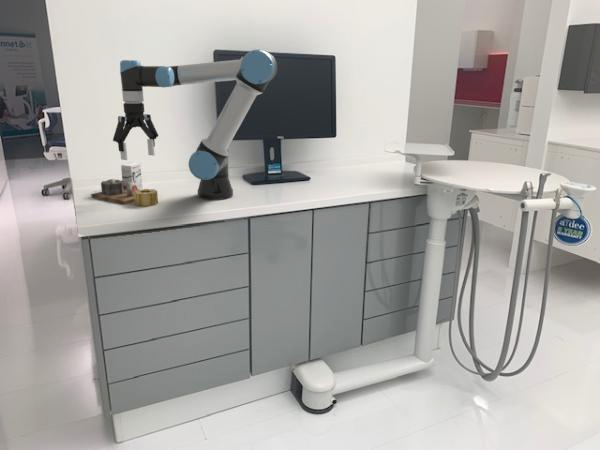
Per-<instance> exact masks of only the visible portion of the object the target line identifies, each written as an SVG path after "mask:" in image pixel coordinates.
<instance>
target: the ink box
mask: <svg viewBox="0 0 600 450" xmlns="http://www.w3.org/2000/svg"><path fill="white" fill-rule="evenodd" d="M120 166H121V167H120V169H121V178H122V179H121V181H124V189H126V182H132V190H133V191H136V190H142V189H143V182H142V181H143V178H142V177H143V176H142V165H141V162H140V163H139V162H134V161H133V162H127V163H124V164H121V165H120Z"/></svg>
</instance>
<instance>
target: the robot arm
mask: <svg viewBox="0 0 600 450" xmlns="http://www.w3.org/2000/svg"><path fill="white" fill-rule="evenodd" d="M277 71H278V63H277V60H276V58H275V56H274V55H272V54H271V53H269V52H267V51H265V50H264V49H253V50H250V51H249V52H247V53H246V54H245V55H243V56H241V58H240V59H233V60H222V61H213V62H200V63H193V64H191V63H190V64H182V65H172V66H171V65H170V66H165V65H160V66H159V65H158V66H157V65H151V66H149V65H142V63H141V61H140V60H135V59H134V60H133V59H132V60H131V59H130V60H129V59H122V60H121V61H120V62H119V74H120V82H121V93H122V101H123V102H124V103H123V104H122V105H123V112H124V115H125V116H123V115H119V116H118V117H117V125H116V128H115V132H114V135H113V139H112V141H113V142H116V143H117V146H118V151H119V152H120V160H123V161H128V152H127V143H126V142H125V141H126V139H127V137H128V135H129V134H130V131H131V130H133V128H140V129H141V130H142V131H143V132H144V134H145V135H146V136H147V138H148V139H147V138H146V139H147V152H148V153H147V155H148V156H155V145H156V143H155V141H156V140H157V138H159V134H158V131H157V129H156V127H155V125H154V123H153V121H152V117H151V116H152V115H151V114H148V113H147V114H146V113H145V104H144V103H143V102H144V89H143V88H144V87H147V88H148V87H152V88H172V87H175V86H183V85H186V86H187V85H193V84H194V85H195V84H206V83H217V82H228V81H229V82H230V81H236V84H235V86H234V88H233V89H232V92H231V93H230V95H229V97H228V99H227V100H226V102H225V105H224V106H223V109H222V110H221V112H220V114H219V115H218V118H217V119H216V121H215V123H214V125H213V127H212V129H211V130H210V132H209V134H208V136H207V137H205V138H202V139H201V141H200V142H199V144H198V146H197V148H196V150H195V152H193V153H192V154H191V155H190V157H189V160H188V168H189V169H188V170H189V171H190V173H191V175H193V177H195V178H196V179H199V180H200V181H199V184H198V189H197V197H198V198H201V199H205V200H224V199H229V198H232V197H233V196H234V189H233V187H232V184H231V181H230V177H229V175H230V174H229V173H230V172H229V147H230V144H231V142H232V141H233V139H234V137H235V135H236V133H237V132H238V130H239V128H240V127H241V125H242V123H243V121H244V120H245V118H246V115H247V114H248V112H249V110H250V109H251V106H252V104H253V103H254V101H255V99H256V98H257V96H259V95H261V94H263V93H265V89H266V88H267V86H268V85H269V83H270V82H271V81H272V80H273V79H274V78H275V77H276V75H277V73H278V72H277ZM144 113H145V114H144Z"/></svg>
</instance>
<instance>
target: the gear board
mask: <svg viewBox="0 0 600 450" xmlns="http://www.w3.org/2000/svg"><path fill="white" fill-rule="evenodd" d="M100 187H101V191H99V192H94V193H91V194H90V195H91V198H92V199H95V200H96V199H97V200H101V201H105V202H111V203H116V204H120V205H129V204H133V203H135V198H134V191H133V190H132V182H126V189H124V181H122V180H120V179H115V178H110V179H107V180H103V181H101V183H100Z"/></svg>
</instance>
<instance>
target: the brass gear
mask: <svg viewBox="0 0 600 450" xmlns="http://www.w3.org/2000/svg"><path fill="white" fill-rule="evenodd" d="M158 196H159V195H158V190H156V189H154V188H152V189H150V188H149V189H148V188H142V189H140V190H136V191H134V198H135V202H134V205H136V207H150V206H152V207H153V206H156V205H158V204H159V197H158Z"/></svg>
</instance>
